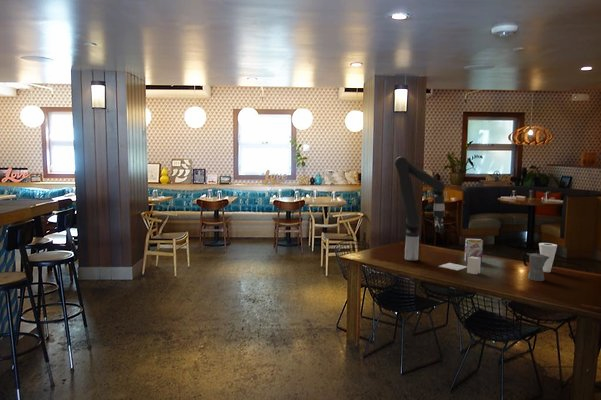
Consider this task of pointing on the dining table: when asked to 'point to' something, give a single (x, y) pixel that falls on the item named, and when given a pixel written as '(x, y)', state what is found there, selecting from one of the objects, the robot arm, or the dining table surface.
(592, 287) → the dining table surface
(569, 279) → the dining table surface
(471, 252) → the candy bar box
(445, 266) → the mat
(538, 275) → the coffeepot
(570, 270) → the dining table surface
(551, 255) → the cup
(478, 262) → the beige block
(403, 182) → the robot arm
